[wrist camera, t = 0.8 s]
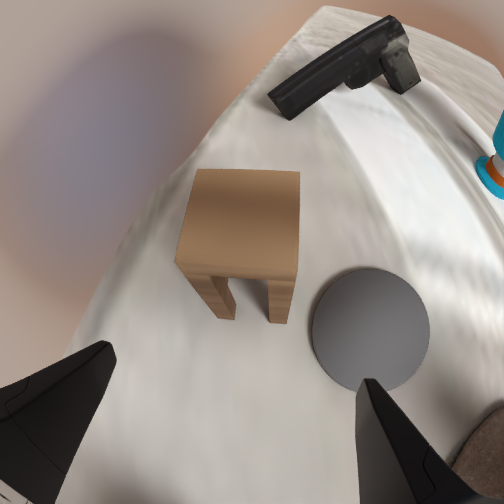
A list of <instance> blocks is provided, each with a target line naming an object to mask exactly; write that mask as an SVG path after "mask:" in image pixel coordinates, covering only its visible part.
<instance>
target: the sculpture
mask: <svg viewBox="0 0 504 504" xmlns="http://www.w3.org/2000/svg"><path fill="white" fill-rule="evenodd" d="M451 469H452V470H453V471H454V472H455V473H456V474H457V475H458V476H459V477H461V478H462V479H463V480H464V481H465V482H466V483H467V484H468V485H469V486H470V487H471V488H472V489H473V490H475V491H476V492H478V493H480V494H482V495H484V496H488V497H494V498H500V499H504V407H501V408H499V409H497V410H496V411H495V412H493V413H492V414H491V415H490V416H489V417H488V418H487V419H486V420H485V421H484V422H483V423H481V424H480V426H479V427H478V428H477V429H476V430H475V431H474V432H473V434H472V435H471V436H470V438H469V439H468V440H467V442H466V444H465V445H464V447H463V449H462V450H461V452H460V454H459V456H458V457H457V459H456V461H455V462H454V464H453V466H452V467H451Z"/></svg>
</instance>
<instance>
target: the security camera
mask: <svg viewBox="0 0 504 504" xmlns="http://www.w3.org/2000/svg"><path fill="white" fill-rule="evenodd" d="M493 144H494V147H495V150H496V154H495V155H492V156H491V157H490V158H489V157H485V156H482V157H480V158H479V159H478V160H477V162H476V170H477V173H478V176H479V178H480V179H481V181H482V182H483V184H484V185H485V186H486V188H487V189H488V190H489V191H490V192H491V193H492V194H494V195H495V196H496V197H498V198H500V199H503V200H504V110H503V113H502V115H501V118H500V120H499V122H498V125H497V127H496V129H495V132H494V134H493Z"/></svg>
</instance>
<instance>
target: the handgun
mask: <svg viewBox="0 0 504 504" xmlns="http://www.w3.org/2000/svg"><path fill="white" fill-rule="evenodd" d="M408 45H409V39H408V37H407V35H406V33H405V31H404V29H403V27H402V25H401V23H400V22H399V21H398V20H397V19H396V18H395V17H393V16H391V15H388V16H386V17H384V18H383V19H381V20H379V21H377V22H375V23H373V24H372V25H370V26H368V27H366V28H365V29H363V30H361V31H359V32H358V33H356V34H354V35H353V36H351V37H349V38H348V39H346V40H344V41H343V42H341V43H340V44H338V45H336V46H335V47H333V48H332V49H330V50H329V51H327V52H326V53H324V54H322V55H321V56H319V57H318V58H316V59H315V60H313V61H312V62H311V63H309V64H308V65H306V66H305V67H303V68H302V69H300V70H299V71H298V72H296V73H295V74H293V75H292V76H291V77H289V78H288V79H287V80H285V81H284V82H282V83H281V84H280V85H278V86H277V87H276V88H274V89H273V90H272V91H271V92H269V93H268V94H267V95H268V96H269V98H270V99H271V100H272V101H273V102H274V104H275V105H276V106H277V108H278V109H279V110H280V111H281V112H282V113H283V115H284V116H285V117H286V118H287V119H288V120H289V121H290V120H292V119H293V118H295V117H296V116H297V115H299V114H300V113H301V112H303V111H304V110H305V109H307V108H308V107H309V106H311V105H312V104H314V103H315V102H316V101H318V100H319V99H320V98H322V97H323V96H325V95H326V94H327V93H329V92H330V91H332V90H333V89H335V88H336V87H337V86H339V85H340V84H342V83H343V82H344V83H345V84H346V86H348V87H349V88H350V89H351V90H353V89H357V88H361V87H363V86H365V85H366V84H368V83H369V82H371V81H372V80H374V79H375V78H377V77H378V76H380V75H381V74H383V75H384V76H385V78H386V80H387V81H388V83H389V85H390V87H391V88H393V89H394V90H395V91H396V92H398V93H399V94H400V95H401V94H403V93H404V92H406V91H407V90H409V89H410V88H412V87H413V86H415V85H416V84H418V83H419V82H421V79H420V77H419V74H418V72H417V69H416V67H415V64H414V62H413V60H412V58H411V56H410V54H409V52H408Z"/></svg>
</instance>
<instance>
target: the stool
mask: <svg viewBox="0 0 504 504" xmlns="http://www.w3.org/2000/svg"><path fill="white" fill-rule="evenodd" d="M299 213H300V172H293V171H274V170H246V169H197V173H196V176H195V180H194V183H193V187H192V191H191V195H190V198H189V202H188V206H187V210H186V214H185V218H184V222H183V226H182V230H181V234H180V239H179V243H178V247H177V252H176V256H175V261H174V262H175V264H176V265H177V266H178V268H179V269H180V270H181V272H182V273H183V274H184V275H185V277H186V278H187V279H188V281H189V282H190V283H191V285H192V286H193V287H194V288H195V290H196V291H197V292H198V294H199V295H200V296H201V297H202V299H203V300H204V301H205V302H206V304H207V305H208V306H209V307H210V309H211V310H212V311H213V312H214V314H215V315H216V316H217V317H218V318H221V319H231V320H234V318H235V310H236V303H235V300H234V298H233V296H232V294H231V291H230V289H229V287H228V285H227V284H228V277H233V278H246V279H260V280H267V284H268V301H269V319H270V323H279V324H286V323H287V319H288V314H289V310H290V305H291V300H292V296H293V291H294V286H295V281H296V276H297V271H298V249H299Z"/></svg>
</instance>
